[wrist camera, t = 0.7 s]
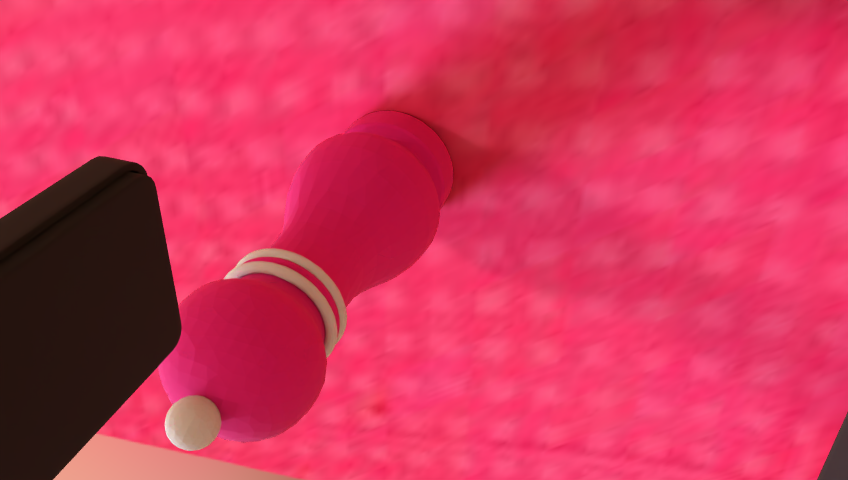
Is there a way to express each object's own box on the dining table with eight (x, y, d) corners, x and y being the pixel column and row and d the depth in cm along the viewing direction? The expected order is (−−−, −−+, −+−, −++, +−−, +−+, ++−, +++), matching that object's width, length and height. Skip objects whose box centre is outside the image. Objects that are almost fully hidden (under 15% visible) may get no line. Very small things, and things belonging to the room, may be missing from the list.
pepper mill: (439, 245, 43) (260, 551, 27) (321, 191, 43) (78, 457, 27) (482, 136, 38) (299, 423, 22) (350, 77, 39) (82, 315, 23)
